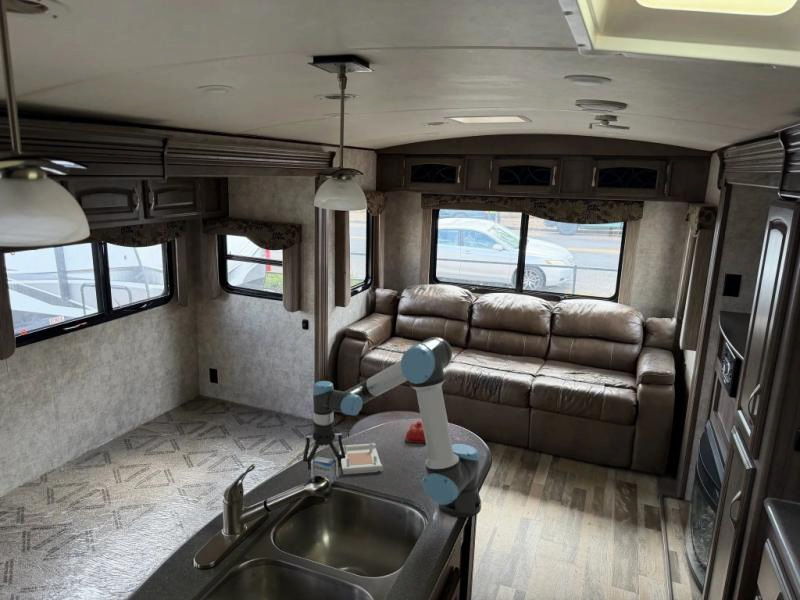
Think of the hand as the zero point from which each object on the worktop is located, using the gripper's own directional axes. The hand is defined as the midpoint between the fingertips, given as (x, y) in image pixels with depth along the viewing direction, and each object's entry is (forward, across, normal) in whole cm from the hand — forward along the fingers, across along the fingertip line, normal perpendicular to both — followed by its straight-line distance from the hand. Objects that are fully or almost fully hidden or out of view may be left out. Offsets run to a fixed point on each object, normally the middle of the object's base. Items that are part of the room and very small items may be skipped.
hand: (324, 475), depth 215 cm
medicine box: (+2, 0, 0) cm, 2 cm away
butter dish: (+4, -45, -32) cm, 55 cm away
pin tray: (+3, -16, -15) cm, 22 cm away
